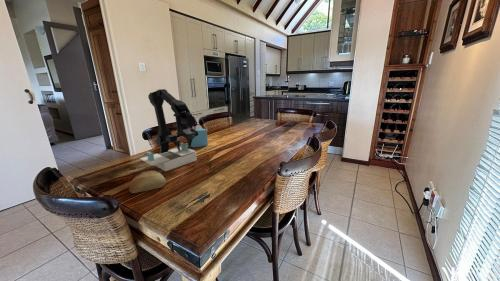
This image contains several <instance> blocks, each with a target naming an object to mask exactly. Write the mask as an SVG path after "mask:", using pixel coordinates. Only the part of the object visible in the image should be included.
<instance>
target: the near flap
mask: <svg viewBox="0 0 500 281" xmlns="http://www.w3.org/2000/svg"><path fill="white" fill-rule="evenodd" d="M159 154H160V153H153V152H152V151H147V152H146V155H145V156H143V157H140V158H139V160H141V161H143V162H144V163H147V164H148V165H150V166H155V165H156V164H159V163H162V162H165V161H168V160H170V159H168V158H166V157H164V156H161V155H159Z"/></svg>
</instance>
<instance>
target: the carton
mask: <svg viewBox="0 0 500 281" xmlns="http://www.w3.org/2000/svg"><path fill="white" fill-rule="evenodd" d="M158 154H159V155H161V156H164V157H166V158H168V159H170V160H168V161H165V162H162V163H159V164H156V165H154V166H155V167H156V168H159V169H160V170H163V171H164V172H167V171H170V170H174V169H177V168H179V167H182V166H184V165H188V164H191V163H193V162H196V161H197V160H198V158H197V157H198V156H197V152H193V153H190V154H187V155H184V156H179V155H177V154H174V153H172V152H165V153H158Z"/></svg>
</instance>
